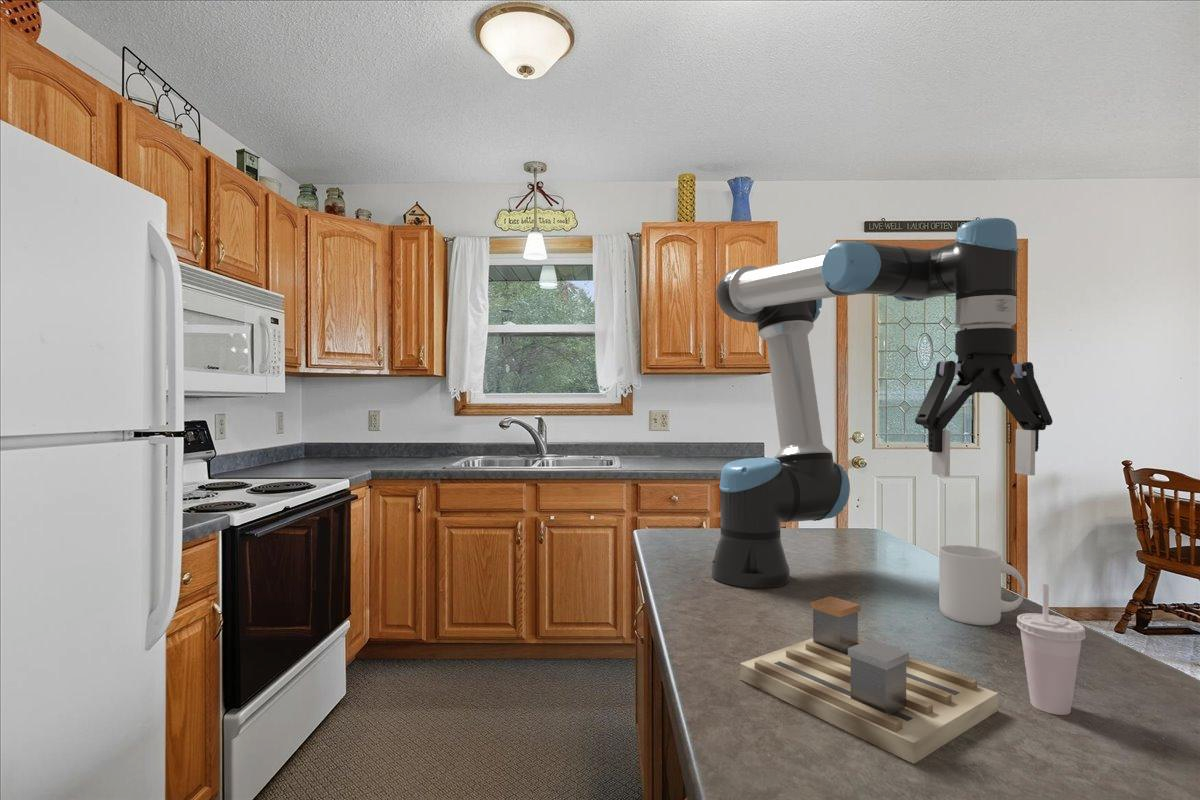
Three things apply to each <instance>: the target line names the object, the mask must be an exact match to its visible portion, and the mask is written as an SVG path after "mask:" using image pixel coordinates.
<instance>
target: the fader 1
mask: <svg viewBox="0 0 1200 800" xmlns="http://www.w3.org/2000/svg"><path fill="white" fill-rule="evenodd" d="M810 608H811V609H812V638H813V643H816V644H819V645H821V646H824V647H827V648H829V649H832V650H835V651H837V652H840V653H843V654H845V653H848V648H850V647H853V646H855V645H858V637H859V635H858V634H859V631H858V628H859V617H858V616H859V615H858V613H859V612H861V605H860V604H858V603H855V602H851V601H849V600H845V599H841V598H839V597H835V596H827V597H823V598H820V599H817V600H813V601H811V602H810Z"/></svg>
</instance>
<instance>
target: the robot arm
mask: <svg viewBox="0 0 1200 800" xmlns="http://www.w3.org/2000/svg"><path fill="white" fill-rule="evenodd" d="M1017 233H1018V231H1017V225H1016V223H1015V222H1014V221H1013V220H1011V219H1009V218H1005V217H1004V218H1003V217H990V218H989V217H987V218H980V219H974V220H971V221H967V222H964V223H963V224H962V225H960V226H959V227H958V228H957V229H956V235H955V238H954V240H955V241H954V242H952V243H950V244H947V245H944V246H939V247H935V248H929V249H923V248H917V247H916V248H915V247H907V246H905V247H904V246H895V245H887V244H881V243H873V242H866V241H863V240H852V241H851V240H848V241H847V240H845V241H843V240H841V241H839V242H836V243H835V244H833V245H832V246H831V248H829V249H828V250H827V251H826V252H823V253H819V254H815V255H811V256H806V257H802V258H797V259H793V260H789V261H784V262H781V263H776V264H772V265H767V266H763V267H757V266H754V265H746V266H741V267H736V268H734V269H731V270H729V271H728V272H726V273H725V274H724V275H723V276H722V277H721V278H720V280H719V281H718V284H717V287H716V300H717V304H718V306H719V308H720V310H721V311H722V312H723V313H724V314H725V315H726V316H727V317H729V318H730V319H732V320H735V321H737V322H743V323H753V324H755V323H756V325H757V329H758V330H757V332H758V336H759V337H760V338H762V339H763V340H765V342H766V345H767V354H768V355H767V356H768V360H769V368H770V369H769V370H770V377H771V383H772V384H771V385H772V392H773V401H774V408H775V415H776V423H777V431H778V438H779V446H780V448H779V450H778V452H777V453H776V455H775V456H774V457H763V456H762V457H755V458H754V457H749V458H742V459H741V458H740V459H735V460H732V461H729V462H727V463H726V464H725V465H724V466H723V467H722V468H721V473H720V481H719V490H720V494H719V495H720V501H719V502H720V532H719V534H720V536H719V540H718V544H717V546H716V549H715V555H714V559H712V561H711V577H712V578H713V579H715V580H716V581H717V582H720V583H723V584H727V585H731V586H735V587H736V586H737V587H742V588H753V589H756V588H757V589H760V588H761V589H766V588H767V589H768V588H776V587H782V586H784V585H786V584H788V583H789V582H790V580H791V576H790V575H791V574H790V573H791V570H790V569H791V568H790V566H789V564H788V562H787V558H786V554H785V551H784V547H783V544H782V540H781V539H782V538H781V529H782V528H781V527H782V525H781V524H782V523H793V522H807V521H813V522H815V521H823V520H827V519H833V518H834V517H837V516H838V515H839V514H841V513H842V512H843V510H844V508H845V507H846V506H847V504H848V502H849V498H850V493H851V484H850V479H849V476H848V472H847V471H846V470H844V467H843V465H841V464H839V463H837V462H834V454H833V451H831V449H829V448H828V447H827V446H825V444H824V440H823V432H822V427H821V419H820V413H819V406H818V399H817V393H816V392H817V391H816V385H815V379H814V378H815V377H814V370H813V364H812V357H811V350H810V343H809V334H810V333H811V331H812V330H813V329H814V327H815V326H814V322H815V321H816V320H817V319H818V318H819V315H820V314H821V310H820V309H821V308H822V307H823V299H831V298H836V297H845V296H854V295H864V294H866V295H867V294H868V295H883V296H892V297H893V298H895V299H896V300H898V301H900V302H911V301H916V302H921V301H924V300H928V299H931V298H937V297H940V296H941V297H942V296H947V295H951V294H953V295H954V294H955V311H954V312H955V318H954V319H955V320H954V326H955V327H956V328H958V329H959V330H958V331H956V333H955V336H954V337H955V338H954V341H955V342H954V354H955V356H956V357H957V362H955V361H954V360H944V361H943V360H942V361H937V362H936V366H935V374H934V375H935V376H934V378H933V380H932V382H931V384H930V387H929V389H928V391H927V393H926V394H925V397H924V400H923V401H922V403H921V405H920V408H919V410H918V412H917V414H916V416H915V419H914V422H915V424H916V425H920V426H922V428H923V429H925V430H927V431H928V432H927V433H928V436H927V438H928V439H927V440H928V441H927V445H928V446H927V449H928V451H929V452H931V453H932V455H931V457H932V458H931V464H932V465H931V475H935V476H940V477H951V430H948V429H947V430H946V429H945V428H946V427H947V425H948V424H949V423H950V422H951V421H952V419H954V417H955V416H956V414H957V413H958V411H959V410H960V409H961V408H962V407H963V405H964V404H965V403H966V402H967V400H968V399H969V398H970V396H972V395H974V394H975V393H980V394H981V393H984V394H985V393H986V394H987V393H988V394H989V393H991V394H994V395H995V396H997V397H998V398H999V399H1000V400H1001V402H1002V403H1003V404H1004V406H1005V407H1006V409H1007V410H1008V411H1009V412H1010V414H1011V416H1012V417H1013V418H1014V419H1015V420H1016V422H1017V423H1018V424H1019V426H1020V428H1022V429H1015V457H1014V458H1015V465H1014V468H1015V469H1014V473H1015V474H1017V475H1019V474H1020V475H1025V476H1035V475H1036V452H1038V451H1039V437H1040V436H1039V435H1040V433H1039V432H1040V431H1045V430H1046V428H1047V426H1051V425H1052V424H1053V418H1052V416H1051V414H1050V411H1049V409H1048V406H1047V404H1046V401H1045V399H1044V397H1043V395H1042V393H1041V390H1040V387H1039V385H1038V383H1037V381H1036V379H1035V371H1034V370H1035V369H1034V365H1033V362H1031V361H1026V362H1025V361H1024V362H1015V363H1014V362H1013V356H1014V355H1015V354H1016V351H1017V330H1015V328H1012V326H1014V325H1015V324H1017V299H1018V298H1017V288H1016V287H1017V271H1018V270H1017V269H1018V258H1019V257H1018V256H1019V251H1020V249H1019V247H1018V235H1017ZM956 376H957V377H958V379H957V380H956V382H955V383H954V385H953V386H952V384H953V382H954V379H955V377H956ZM1012 377H1013V380H1012ZM951 386H952V387H951ZM950 389H951V391H950V392H949V390H950ZM947 394H948V395H947Z"/></svg>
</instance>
